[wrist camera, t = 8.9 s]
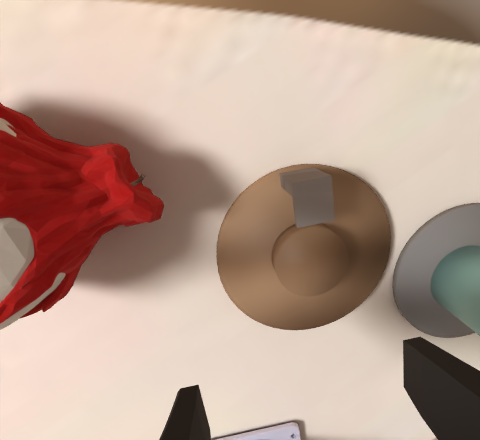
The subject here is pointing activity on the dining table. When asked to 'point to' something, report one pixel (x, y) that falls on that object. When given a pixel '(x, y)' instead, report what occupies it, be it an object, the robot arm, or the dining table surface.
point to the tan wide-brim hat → (303, 246)
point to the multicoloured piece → (58, 210)
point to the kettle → (459, 285)
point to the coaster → (423, 265)
